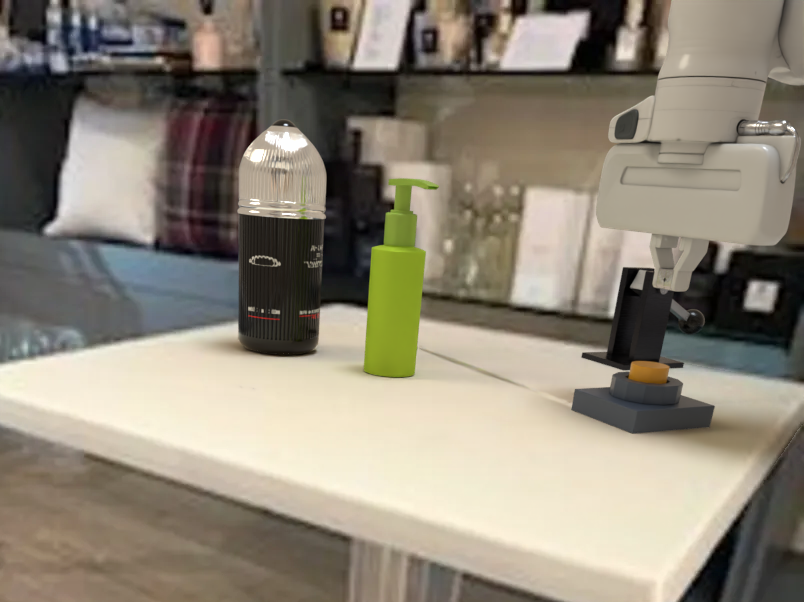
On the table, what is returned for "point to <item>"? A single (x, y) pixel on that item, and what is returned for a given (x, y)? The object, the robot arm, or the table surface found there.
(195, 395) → the table surface
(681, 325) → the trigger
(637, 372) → the button
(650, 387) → the button housing
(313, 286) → the spray bottle
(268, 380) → the table surface
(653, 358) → the bracket
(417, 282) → the soap dispenser
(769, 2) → the robot arm
